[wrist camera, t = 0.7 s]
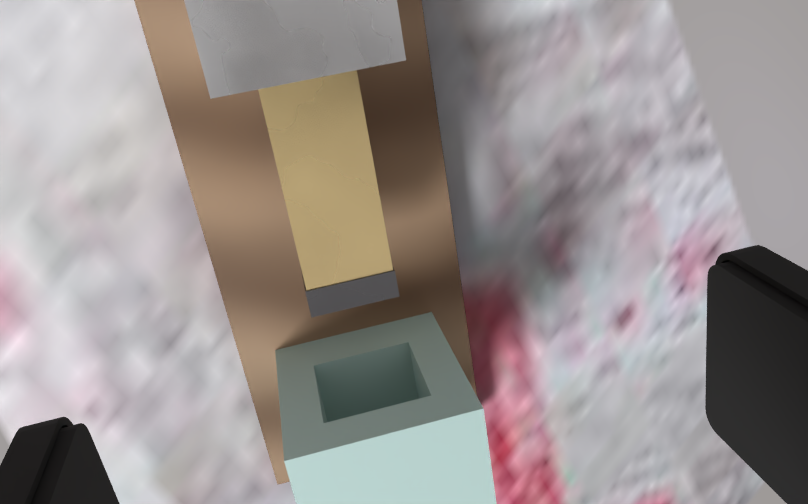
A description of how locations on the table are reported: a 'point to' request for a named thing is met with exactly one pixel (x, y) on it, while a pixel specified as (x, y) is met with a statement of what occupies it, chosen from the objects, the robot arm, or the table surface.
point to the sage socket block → (382, 419)
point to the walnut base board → (267, 213)
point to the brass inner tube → (330, 191)
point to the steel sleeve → (290, 40)
